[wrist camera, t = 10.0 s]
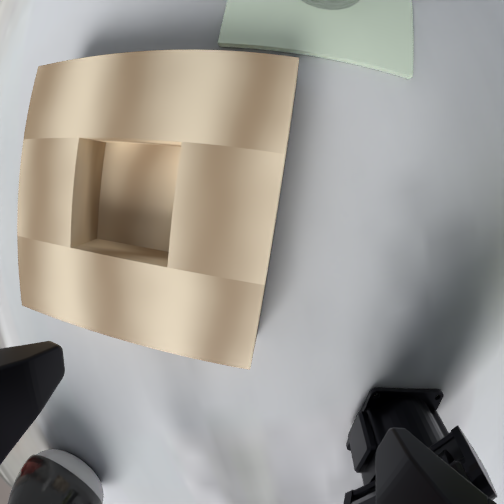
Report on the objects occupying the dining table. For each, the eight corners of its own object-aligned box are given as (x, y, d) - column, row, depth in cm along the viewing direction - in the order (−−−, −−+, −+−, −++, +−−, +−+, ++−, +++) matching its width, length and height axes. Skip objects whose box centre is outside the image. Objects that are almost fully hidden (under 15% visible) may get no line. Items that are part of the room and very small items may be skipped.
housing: (296, 82, 17) (299, 57, 13) (256, 336, 20) (249, 369, 16) (72, 79, 18) (38, 66, 14) (54, 288, 21) (22, 305, 17)
